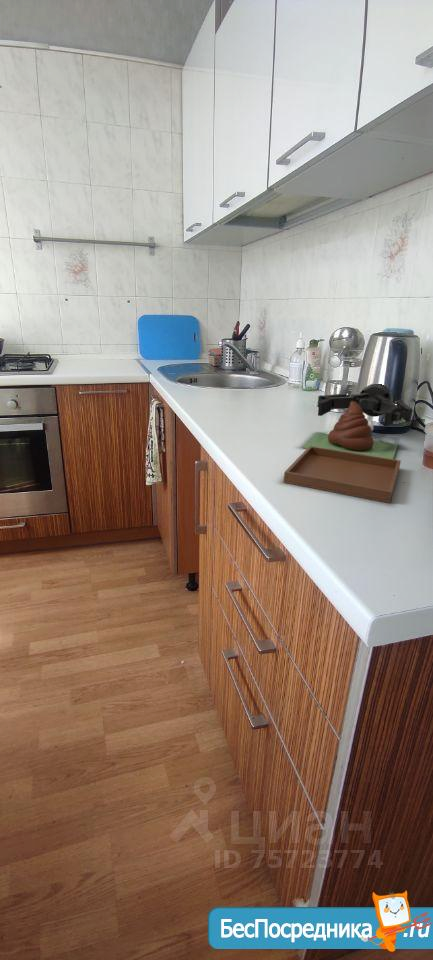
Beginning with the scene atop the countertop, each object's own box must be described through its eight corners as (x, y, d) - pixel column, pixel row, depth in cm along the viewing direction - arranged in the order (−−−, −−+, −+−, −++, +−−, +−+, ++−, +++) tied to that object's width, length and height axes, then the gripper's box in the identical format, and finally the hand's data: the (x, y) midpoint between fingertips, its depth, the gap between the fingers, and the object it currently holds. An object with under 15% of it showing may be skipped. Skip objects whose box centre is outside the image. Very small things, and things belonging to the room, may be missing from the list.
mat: (397, 445, 102) (397, 444, 102) (391, 462, 91) (392, 461, 91) (316, 433, 109) (316, 432, 109) (302, 447, 98) (302, 446, 98)
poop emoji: (318, 441, 101) (324, 399, 98) (345, 436, 106) (351, 395, 102) (355, 454, 94) (362, 409, 90) (382, 448, 98) (389, 404, 95)
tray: (398, 470, 87) (400, 460, 86) (389, 503, 72) (391, 492, 72) (308, 454, 93) (309, 445, 93) (283, 482, 79) (284, 472, 78)
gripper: (430, 422, 107) (413, 443, 90) (325, 406, 119) (293, 422, 102) (437, 389, 104) (420, 405, 87) (329, 376, 116) (296, 388, 99)
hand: (352, 414), depth 95 cm, fingers open, 13 cm apart
